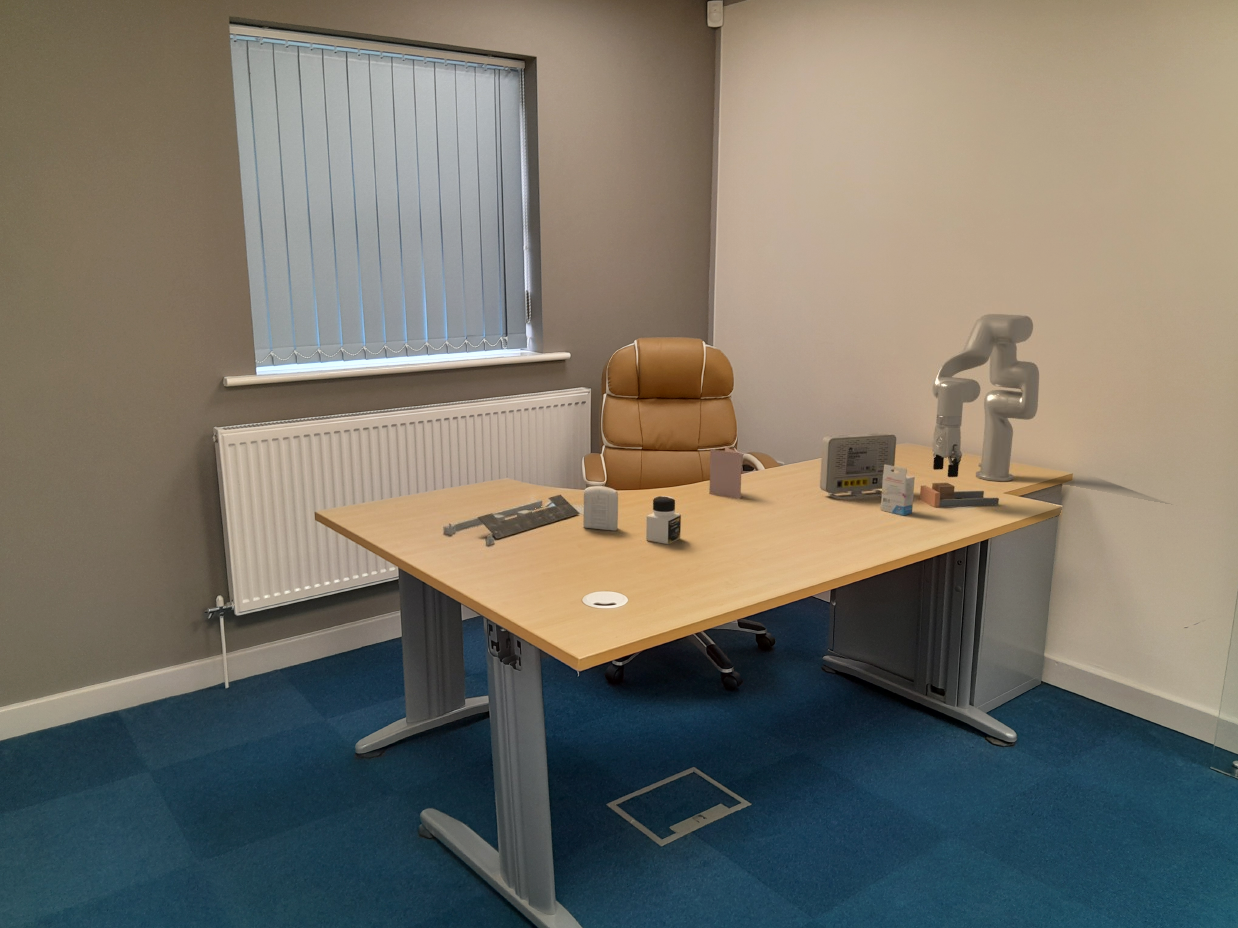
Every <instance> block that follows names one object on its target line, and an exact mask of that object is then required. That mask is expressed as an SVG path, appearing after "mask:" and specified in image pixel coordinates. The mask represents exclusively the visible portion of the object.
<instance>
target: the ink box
mask: <svg viewBox="0 0 1238 928" xmlns="http://www.w3.org/2000/svg"><path fill="white" fill-rule="evenodd" d="M891 470H894V472H892V471H891ZM895 470H896V471H898V472H896V471H895ZM907 471H908V470H907V468H906V467H905V468H904V467H899V466H896V465H894V466H890V465H884V474H883V484H882V489H881V491H882V496H881V502H880V510H881V511H882V512H887V513H891V514H896V515H899V516H906V515H910V514H912V513H913V504H914V492H915V491H914V490H915V477H916V476H912V475H908V474H907Z"/></svg>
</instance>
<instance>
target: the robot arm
mask: <svg viewBox="0 0 1238 928" xmlns="http://www.w3.org/2000/svg"><path fill="white" fill-rule="evenodd" d="M1033 332H1034V324H1033V320H1032V319H1031V317H1030V316H1028V315H1022V314H1020V315H1019V314H1001V313H989V314H988V313H987V314H984V315H982V316H981V317H980V318H978V319H977V320H976V321H975V322H974V324H973V327H972V329H971V331H970V333H969V336H968V338H967V340H966V342H965V345H964V347H963V349H962V350H961V351H959V352H958V353H956V354H954V355H953V356H951V357H950V358H949V359H947V360H946V361H945V362H943V364H941V366H940V367H939V370H938V372H937V374H936V376H935V378H934V381H933V384H932V394H933V396H934V397H935V398H936V399H937V406H936V407H937V408H936V423H935V428H934V431H933V437H932V438H933V440H932V447H931V449H932V452H933V455H932V456H933V464H932V465H933V466H932V469H933V470H936V471H937V470H944V462H945V461H944V460H945V459H948V462H949V464H948V465H947V467H948V468H947V477H948V478H958V477H959V469H960V468H959V466H960V464H961V463H960V462H961V460H962V456H963V452H962V451H961V444H962V441H961V438H962V436H961V433H962V432H961V427H962V422H963V421H962V420H963V405H964V403H967V404H968V403H972V402H975V401H976V400H977V399H978V398H979V396H980V394H981V385H980V384H979V381H977V380H975V379H973V378H972V379H971V378H962V377H956V376H955V375H957V374H959V373H961V372H964V371H967V370H972V369H976V368H977V367H981V366H984V365H985V364H986V363H988V362H989V382H990V383H991V385H993V386H994V387H999V388H1006V389H1007V388H1008V389H1018V390H1020V391H1015V390H1006V389H994V390H990V391H989V392H987V393H986V394H985V396H984V401H983V408H984V409H983V410H984V428H983V429H984V430H983V431H984V432H983V441H982V452H981V462H979V463H978V464H977V465H978V467H979V468H980V470H979V471H976V472H975V477H976V478H979V479H982V480H986V481H994V482H1008V481H1009V482H1010V481H1012V480H1013V479H1014V475H1013V474H1012V473H1010V465H1011V456H1012V446H1013V436H1014V430H1013V429H1014V428H1013V426H1012V423H1011V422H1010V421H1009V419H1015V420H1023V421H1024V420H1025V421H1028V420H1029V421H1030V420H1032V419H1034V418H1035V417H1036V416H1037V415H1036V414H1037V412H1038V407H1039V390H1040V370H1039V367H1038V366H1037V364H1035V362H1032V361H1026V360H1025V361H1024V360H1022V361H1021V360H1018V358H1017V357H1018V356H1017V351H1018V348H1017V347H1018V346H1017V344H1020V343H1023V342H1026V341H1027V340H1029V338H1030V337H1031V336H1032V335H1033ZM954 376H955V377H954Z"/></svg>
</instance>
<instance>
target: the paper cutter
mask: <svg viewBox="0 0 1238 928" xmlns="http://www.w3.org/2000/svg"><path fill="white" fill-rule="evenodd" d="M547 499H548V500H549V501H547V502H546V503H545V504H544V505H543V500H541V499H540V500H539V499H538V500H536V501H532V502H528V503H524V504H521V505H518V506H514V507H511V508H507V509H503V510H500V511H496V512H491V513H487V514H484V515H481V516H480V515H479V516H477V517H474V518H471V519H470V518H469V519H467V520H463V521H459V522H456V523H448V525H444V526H443V527H442V530H443V534H445V535H448V536H453V535H454V534H456V533H458V532H461V531H465V530H466V531H467V530H469V529H472V528H473V529H474V528H475V527H479V526H485V528H486V529H487V530H489V532H490V533H489V534H488V535H487V536H486V538H485V545H486V546H491V545H494V544H495V538H496V539H501V538H504V537H509V536H511V535H514V534H518V533H521V532H524V531H528V530H530V529H535V528H537V527H541V526H544V525H547V524H551V523H553V522H557V521H561V520H563V519H568V518H570V517H573V516H577V515H583V516H584V505H577V504H571V503H570V502H569V501H567V499H566V498H565V497H564V496H563V495H562V494H557V495H554V496H549V497H547ZM541 506H543V507H541ZM535 508H536V509H535ZM493 536H494V537H495V538H494V537H493Z"/></svg>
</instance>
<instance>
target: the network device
mask: <svg viewBox="0 0 1238 928" xmlns="http://www.w3.org/2000/svg"><path fill="white" fill-rule="evenodd" d="M821 443H822V444H821V460H820V477H819V478H820V480H819V488H820V490H821V491H823V492H826V493H827V495H828V496H829V497H831V498H834V499H837V500H855V499H866V498H868V497H869V498H876V497H877V498H878V497H879V496H880V497H882V484H883V474H884V465H890V466H895V463H896V460H895V459H896V451H897V450H896V448H897V447H896V446H897V437H896V435H895V434H892V433H889V432H877V433H876V432H875V433H861V434H860V433H859V434H857V433H856V434H844V435H843V434H842V435H829V436H828V435H827V436H824V437H823V439H822V442H821ZM891 471H892V472H895V469H894V470H891ZM874 491H875V492H874ZM863 492H874V493H876V494H873V493H872V494H865V493H863ZM836 494H849V495H850V496H839V495H836Z"/></svg>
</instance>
